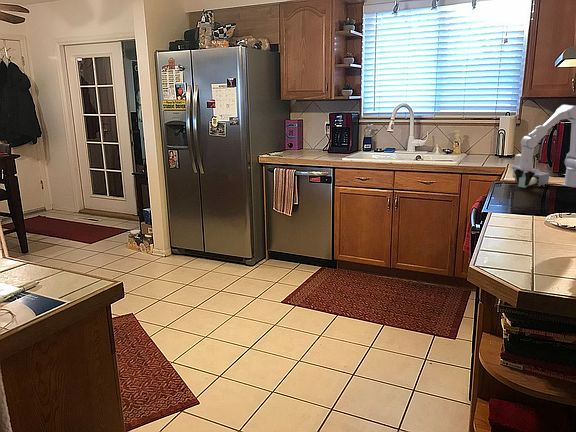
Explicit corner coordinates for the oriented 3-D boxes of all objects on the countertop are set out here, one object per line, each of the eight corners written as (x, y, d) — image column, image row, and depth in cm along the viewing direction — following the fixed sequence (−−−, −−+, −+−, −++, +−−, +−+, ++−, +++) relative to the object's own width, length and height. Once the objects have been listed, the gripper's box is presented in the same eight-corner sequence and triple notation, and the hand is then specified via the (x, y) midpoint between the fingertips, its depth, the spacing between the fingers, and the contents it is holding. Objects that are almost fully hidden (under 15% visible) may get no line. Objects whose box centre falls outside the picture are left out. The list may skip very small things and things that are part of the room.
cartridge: (531, 183, 261) (532, 174, 260) (537, 184, 258) (539, 175, 257) (517, 186, 255) (519, 177, 253) (524, 187, 252) (525, 178, 250)
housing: (524, 179, 273) (525, 169, 271) (547, 184, 261) (549, 173, 260) (514, 181, 268) (516, 170, 266) (538, 186, 257) (540, 175, 255)
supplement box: (529, 176, 281) (532, 154, 277) (525, 178, 276) (528, 156, 272) (516, 174, 286) (519, 153, 282) (511, 176, 280) (514, 155, 277)
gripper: (509, 158, 253) (505, 182, 257) (535, 162, 242) (531, 188, 246) (517, 156, 257) (513, 181, 261) (543, 160, 245) (539, 186, 249)
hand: (522, 184), depth 254 cm, fingers closed on cartridge, 4 cm apart
